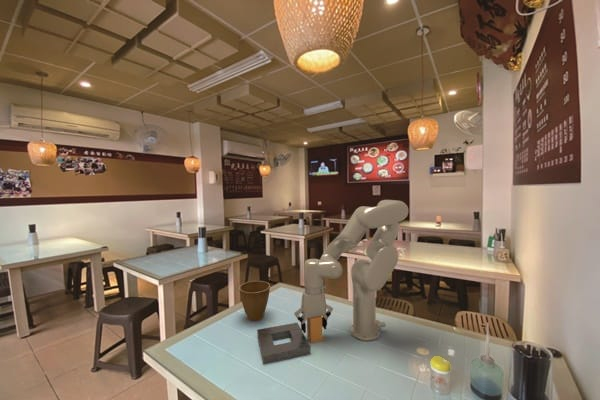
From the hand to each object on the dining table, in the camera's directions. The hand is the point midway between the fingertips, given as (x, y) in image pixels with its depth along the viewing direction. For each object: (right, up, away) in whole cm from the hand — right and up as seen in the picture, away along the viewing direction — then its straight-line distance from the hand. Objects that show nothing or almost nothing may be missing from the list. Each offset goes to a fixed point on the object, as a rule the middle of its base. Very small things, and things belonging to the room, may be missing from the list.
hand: (314, 329), depth 105 cm
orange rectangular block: (0, -4, 0) cm, 4 cm away
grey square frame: (-13, -4, -4) cm, 14 cm away
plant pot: (-28, -4, +18) cm, 33 cm away
